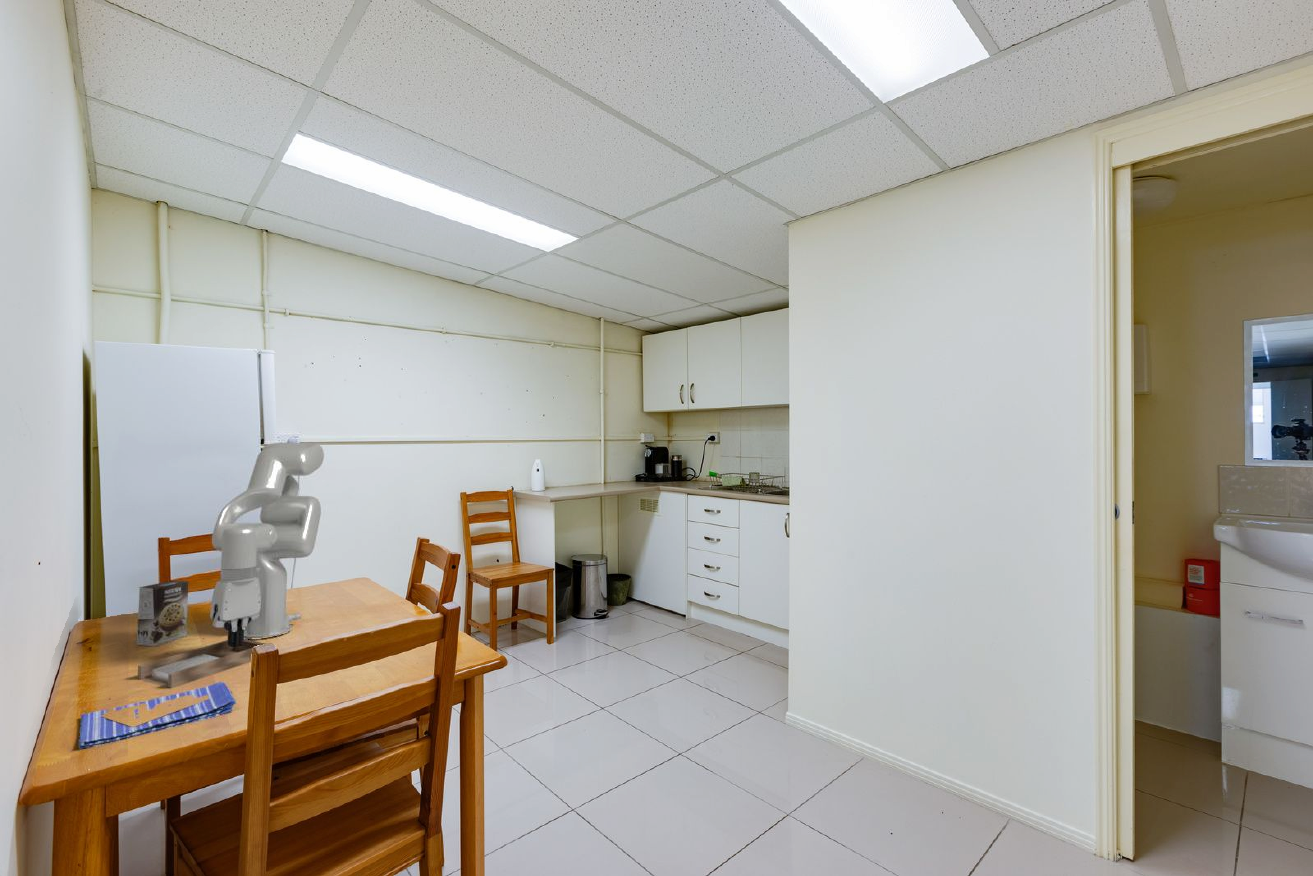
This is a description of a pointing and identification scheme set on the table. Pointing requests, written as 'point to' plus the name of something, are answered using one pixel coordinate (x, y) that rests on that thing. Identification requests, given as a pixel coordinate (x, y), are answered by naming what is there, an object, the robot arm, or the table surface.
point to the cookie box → (162, 613)
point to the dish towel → (106, 730)
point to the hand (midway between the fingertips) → (235, 645)
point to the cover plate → (179, 666)
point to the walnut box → (225, 661)
